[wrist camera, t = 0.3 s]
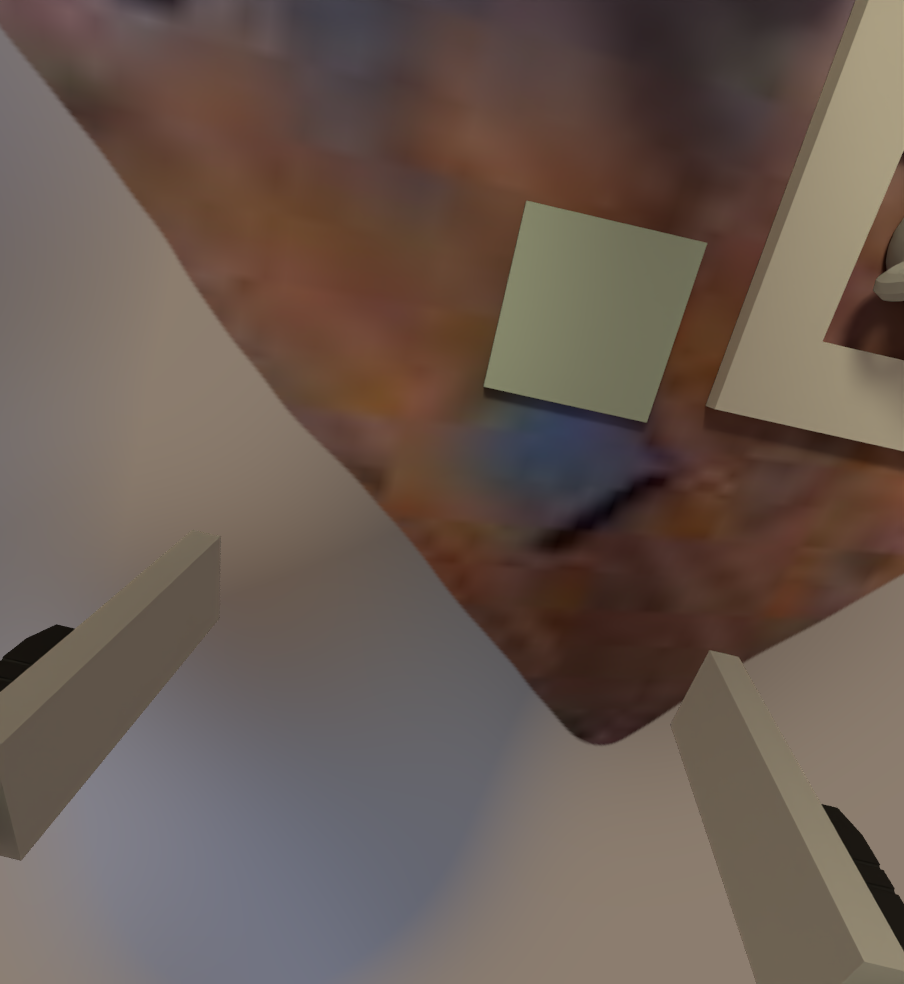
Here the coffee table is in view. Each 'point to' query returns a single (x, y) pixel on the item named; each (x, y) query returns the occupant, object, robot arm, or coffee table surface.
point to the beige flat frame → (826, 254)
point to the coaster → (591, 311)
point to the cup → (893, 269)
